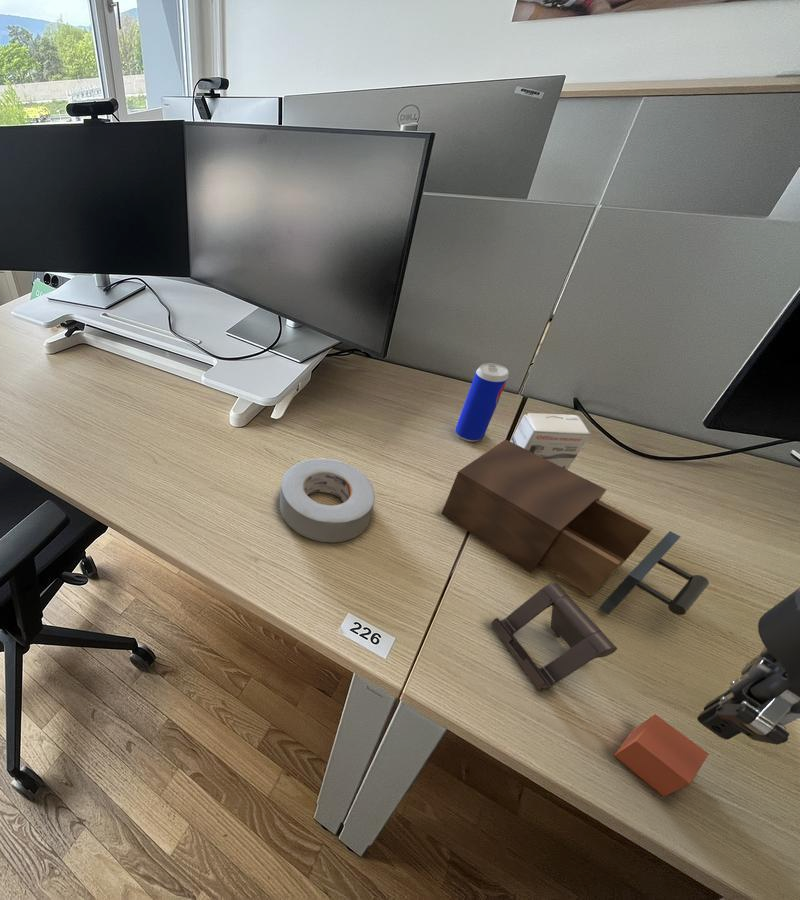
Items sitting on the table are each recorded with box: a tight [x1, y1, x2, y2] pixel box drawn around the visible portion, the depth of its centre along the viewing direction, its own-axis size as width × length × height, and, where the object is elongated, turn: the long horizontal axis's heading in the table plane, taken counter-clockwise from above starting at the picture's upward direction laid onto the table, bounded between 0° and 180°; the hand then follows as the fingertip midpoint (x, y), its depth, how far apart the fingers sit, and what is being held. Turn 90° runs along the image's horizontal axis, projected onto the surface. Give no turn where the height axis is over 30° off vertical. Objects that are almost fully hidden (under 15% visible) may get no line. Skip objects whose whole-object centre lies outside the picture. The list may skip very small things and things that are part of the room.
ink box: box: [510, 412, 592, 471], centre depth 80 cm, size 9×5×12 cm, turn 80°
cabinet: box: [441, 439, 607, 574], centre depth 72 cm, size 15×13×10 cm
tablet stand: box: [490, 581, 618, 691], centre depth 57 cm, size 9×8×8 cm
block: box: [613, 713, 710, 797], centre depth 48 cm, size 4×4×4 cm
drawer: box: [540, 499, 710, 616], centre depth 64 cm, size 19×12×8 cm, turn 33°
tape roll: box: [279, 457, 376, 543], centre depth 79 cm, size 15×15×5 cm
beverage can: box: [455, 362, 509, 442], centre depth 88 cm, size 5×5×15 cm
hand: (714, 722), depth 43 cm, fingers closed
